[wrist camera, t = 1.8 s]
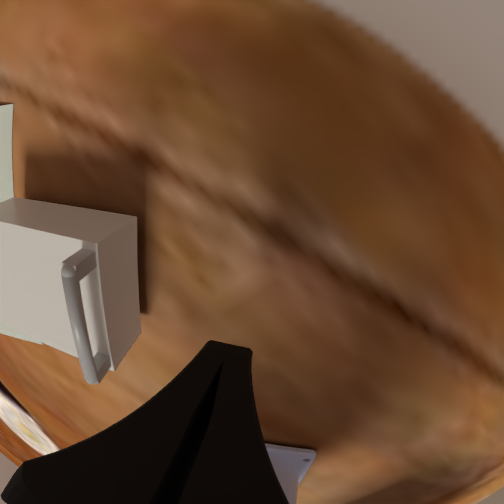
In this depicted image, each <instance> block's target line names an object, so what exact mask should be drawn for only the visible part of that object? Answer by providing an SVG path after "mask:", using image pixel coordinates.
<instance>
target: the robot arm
mask: <svg viewBox="0 0 504 504" xmlns="http://www.w3.org/2000/svg"><path fill="white" fill-rule="evenodd" d="M252 353H253V352H252V350H251V349H250V348H246V347H241V346H236V345H231V344H226V343H222V342H217V341H213V340H210V341H208V342H207V343H206V344H205V345H204V347H203V348H202V349H201V350H200V352H199V353H198V354H197V355H196V356H195V357H194V359H193V360H192V361H191V362H190V363H189V364H188V365H187V366H186V367H185V368H184V369H183V370H182V371H181V372H180V373H179V374H178V375H177V376H176V377H175V378H174V379H173V380H172V381H171V382H170V383H169V384H167V385H166V386H165V387H164V388H163V389H162V390H160V391H159V392H158V393H157V394H156V395H155V396H153V397H152V398H151V399H150V400H148V401H147V402H146V403H145V404H143V405H142V406H141V407H139V408H138V409H137V410H135V411H134V412H132V413H131V414H129V415H128V416H126V417H125V418H123V419H122V420H120V421H118V422H117V423H115V424H113V425H112V426H110V427H108V428H107V429H105V430H103V431H101V432H99V433H98V434H96V435H94V436H92V437H90V438H87V439H85V440H83V441H81V442H78V443H76V444H74V445H72V446H69V447H67V448H65V449H62V450H59V451H57V452H54V453H50V454H47V455H44V456H41V457H38V458H34V459H31V460H27V461H24V462H23V464H22V465H21V466H20V467H19V468H18V469H17V471H16V472H15V473H14V475H13V476H12V478H11V479H10V481H9V483H8V484H7V486H6V487H5V489H4V491H3V492H2V494H1V498H2V500H3V501H4V502H6V503H7V504H296V500H297V490H298V485H299V483H300V482H301V480H302V479H303V477H304V476H305V474H306V472H307V471H308V469H309V468H310V466H311V465H312V463H313V461H314V460H315V458H316V452H315V451H314V450H311V449H302V448H294V447H286V446H279V445H273V444H267V443H265V442H264V439H263V436H262V432H261V428H260V424H259V420H258V416H257V411H256V406H255V400H254V393H253V386H252V374H251V361H252Z"/></svg>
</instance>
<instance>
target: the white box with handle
mask: <svg viewBox="0 0 504 504" xmlns="http://www.w3.org/2000/svg"><path fill="white" fill-rule="evenodd" d="M0 322H2V323H4V324H6V325H8V326H10V327H12V328H14V329H16V330H18V331H20V332H22V333H24V334H26V335H28V336H30V337H32V338H34V339H36V340H38V341H41V342H43V343H45V344H47V345H49V346H52V347H54V348H56V349H58V350H61V351H63V352H65V353H68V354H70V355H73V356H75V357H77V358H79V361H80V365H81V368H82V372H83V375H84V379H85V381H86V382H87V383H89V384H95V383H96V384H99V383H100V382H101V380H102V379H103V377H104V376H105V374H106V373H107V372H108V370H111V371H115V370H116V368H117V367H118V365H119V364H120V362H121V361H122V359H123V358H124V357H125V355H126V354H127V352H128V351H129V349H130V348H131V347H132V345H133V344H134V342H135V341H136V339H137V338H138V337H139V335H140V334H141V321H140V306H139V288H138V260H137V217H136V216H130V215H124V214H118V213H112V212H106V211H100V210H94V209H88V208H81V207H75V206H69V205H62V204H56V203H50V202H43V201H37V200H30V199H24V198H17V197H13V198H11V199H8V200H6V201H3V202H1V203H0Z"/></svg>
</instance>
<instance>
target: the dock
mask: <svg viewBox="0 0 504 504" xmlns="http://www.w3.org/2000/svg"><path fill="white" fill-rule="evenodd" d="M13 107H14V104H8V105H2V106H0V203H1V202H3V201H6V200H8V199H11V198H13V197H14V185H13V163H12V129H13ZM0 333H2V334H5V335H8V336H12V337H16V338H19V339H23V340H27V341H30V342H34V343H38V344H42V345H43V342H41V341H38V340H36V339H34V338H32V337H30V336H28V335H26V334H24V333H22V332H20V331H18V330H16V329H14V328H12V327H10V326H8V325H6V324H4V323H2V322H0Z"/></svg>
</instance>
